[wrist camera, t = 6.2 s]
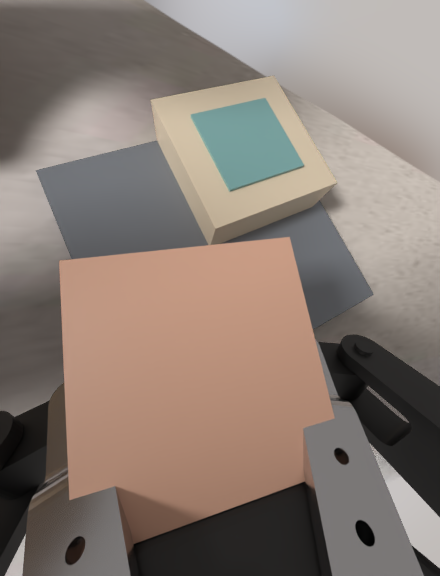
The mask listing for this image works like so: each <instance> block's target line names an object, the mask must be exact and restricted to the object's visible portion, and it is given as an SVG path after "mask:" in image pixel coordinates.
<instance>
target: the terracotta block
mask: <svg viewBox="0 0 440 576" xmlns="http://www.w3.org/2000/svg"><path fill="white" fill-rule="evenodd" d="M59 270H60V294H61V317H62V340H63V363H64V387H65V410H66V433H67V456H68V480H69V500H72V499H75V498H78V497H81V496H85V495H88V494H91V493H94V492H98V491H101V490H104V489H107V488H111V487H114V486H115V487H116V490H117V493H118V496H119V499H120V501H121V504H122V507H123V510H124V513H125V516H126V519H127V521H128V524H129V527H130V530H131V534H132V539H133V544H135V543H138V542H141V541H143V540H146V539H149V538H151V537H154V536H157V535H160V534H162V533H165V532H168V531H171V530H173V529H176V528H179V527H182V526H184V525H187V524H190V523H192V522H195V521H198V520H201V519H203V518H206V517H209V516H212V515H214V514H217V513H220V512H223V511H225V510H228V509H231V508H233V507H236V506H239V505H242V504H244V503H247V502H250V501H253V500H255V499H258V498H261V497H264V496H266V495H269V494H272V493H274V492H277V491H280V490H283V489H285V488H288V487H291V486H294V485H296V484H299V483H302V482H305V477H304V471H303V428H305V427H308V426H312V425H315V424H318V423H321V422H325V421H328V420H331V419H334V418H335V417H334V413H333V409H332V405H331V401H330V397H329V393H328V389H327V385H326V381H325V377H324V373H323V369H322V365H321V361H320V357H319V353H318V349H317V345H316V341H315V337H314V333H313V329H312V325H311V321H310V317H309V313H308V309H307V305H306V301H305V297H304V293H303V289H302V285H301V281H300V277H299V273H298V269H297V265H296V261H295V257H294V253H293V248H292V244H291V240H290V237H284V238H274V239H265V240H255V241H245V242H235V243H226V244H216V245H206V246H197V247H187V248H177V249H167V250H158V251H148V252H138V253H128V254H119V255H109V256H99V257H90V258H80V259H70V260H60V261H59ZM84 549H85V544H84V546H83V549H82V551H81V554H80V557H81V556H82V554H83V552H84Z"/></svg>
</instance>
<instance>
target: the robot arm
mask: <svg viewBox="0 0 440 576" xmlns="http://www.w3.org/2000/svg"><path fill="white" fill-rule="evenodd" d="M315 341H316V345H317V349H318V353H319V357H320V361H321V365H322V369H323V373H324V377H325V381H326V385H327V389H328V393H329V397H330V401H331V405H332V409H333V413H334V417H335V418H334V419H331V420H328V421H325V422H321V423H318V424H315V425H312V426H308V427H305V428H303V471H304V477H305V482H302V483H299V484H296V485H294V486H291V487H288V488H285V489H283V490H280V491H277V492H274V493H272V494H269V495H266V496H264V497H261V498H258V499H255V500H253V501H250V502H247V503H244V504H242V505H239V506H236V507H233V508H231V509H228V510H225V511H223V512H220V513H217V514H214V515H212V516H209V517H206V518H203V519H201V520H198V521H195V522H192V523H190V524H187V525H184V526H182V527H179V528H176V529H173V530H171V531H168V532H165V533H162V534H160V535H157V536H154V537H151V538H149V539H146V540H143V541H141V542H138V543H135V544H133V539H132V534H131V530H130V527H129V524H128V521H127V519H126V516H125V513H124V510H123V507H122V504H121V501H120V499H119V496H118V493H117V490H116V487H115V486H114V487H111V488H107V489H104V490H101V491H98V492H94V493H91V494H88V495H85V496H81V497H78V498H75V499H72V500H69V480H68V456H67V433H66V410H65V387H64V383H63V384H61V385H60V386H59V387H58V388H57V390H56V391H55V392H54V394H53V395H52V397H51V399H50V400H49V401H48V402H46V403H44V404H42V405H39V406H37V407H35V408H33V409H31V410H29V411H27V412H25V413H23V414H21V415H18V416H16V417H14V416H12V415H11V414H10V413H8V412H6V411H0V576H4V575H5V574H6V572H7V570H8V568H9V566H10V564H11V562H12V560H13V558H14V556H15V554H16V552H17V550H18V548H19V546H20V544H21V542H22V540H23V538H24V536H25V534H26V540H25V552H24V564H23V576H440V568H438V567H437V566H436V565H435V564H434V563H432V562H431V561H430V560H428V559H427V558H426V557H425V556H424V555H423V554H421V553H420V552H419V551H418V550H417V549H415V548H414V547H413V546H412V545H411V543H410V541H409V538H408V536H407V534H406V531H405V529H404V526H403V524H402V521H401V519H400V517H399V514H398V512H397V510H396V507H395V505H394V502H393V500H392V497H391V495H390V493H389V490H388V488H387V485H386V483H385V480H384V478H383V476H382V473H381V471H380V468H379V466H378V464H377V461H376V459H375V456H374V454H373V451H372V449H371V447H370V444H371V445H372V446H373V447H374V448H375V449H376V450H377V451H378V452H379V453H380V454H381V455H382V456H383V457H384V458H385V459H386V461H387V462H388V463H389V464H390V465H391V466H392V467H393V468H394V469H395V470H396V471H397V472H398V473H399V474H400V475H401V476H402V477H403V479H404V480H405V481H406V482H407V483H408V484H409V485H410V486H411V487H412V488H413V489H414V490H415V491H416V492H417V493H418V494H419V496H420V497H421V498H422V499H423V500H424V501H425V502H426V503H427V504H428V505H429V506H430V507H431V508H432V509H433V510H434V511H435V512H436V513H437V515H438V516H439V517H440V386H438V385H437V384H435V383H434V382H432V381H431V380H429V379H428V378H426V377H425V376H423V375H422V374H421V373H419V372H418V371H416V370H415V369H413V368H412V367H410V366H409V365H407V364H406V363H404V362H403V361H402V360H400V359H399V358H397V357H396V356H394V355H393V354H391V353H390V352H388V351H387V350H385V349H384V348H382V347H381V346H380V345H378V344H377V343H375V342H374V341H372V340H370V339H368V338H366V337H363V336H360V335H347V336H345V337H344V338H343V339H342V341H341V343H340V344H336V343H323V342H317V340H316V339H315ZM368 385H369V386H370V387H371V388H372V389H373V390H374V391H376V392H377V393H378V394H379V395H380V396H381V397H383V398H384V399H385V400H386V401H387V402H388V403H390V404H391V405H392V406H393V407H394V408H395V409H397V410H398V411H399V412H400V413H401V414H402V415H403V416H405V418H406V419H407V420H408V421H409V423H407V422H405V421H403V420H402V419H401V418H399V417H398V416H397V415H396V414H395V413H394V412H392V411H391V410H390V409H389V408H388V407H387V406H386V405H384V404H383V403H382V402H381V401H380V400H379V399H378V398H376V397H375V396H374V395H373V394H372V393H371V392H370V391H368V390H367V389H366V387H367V386H368ZM368 441H369V442H370V444H369V442H368ZM84 544H85V549H84V552H83V554H82V556H81V557H80V554H81V551H82V549H83V546H84Z"/></svg>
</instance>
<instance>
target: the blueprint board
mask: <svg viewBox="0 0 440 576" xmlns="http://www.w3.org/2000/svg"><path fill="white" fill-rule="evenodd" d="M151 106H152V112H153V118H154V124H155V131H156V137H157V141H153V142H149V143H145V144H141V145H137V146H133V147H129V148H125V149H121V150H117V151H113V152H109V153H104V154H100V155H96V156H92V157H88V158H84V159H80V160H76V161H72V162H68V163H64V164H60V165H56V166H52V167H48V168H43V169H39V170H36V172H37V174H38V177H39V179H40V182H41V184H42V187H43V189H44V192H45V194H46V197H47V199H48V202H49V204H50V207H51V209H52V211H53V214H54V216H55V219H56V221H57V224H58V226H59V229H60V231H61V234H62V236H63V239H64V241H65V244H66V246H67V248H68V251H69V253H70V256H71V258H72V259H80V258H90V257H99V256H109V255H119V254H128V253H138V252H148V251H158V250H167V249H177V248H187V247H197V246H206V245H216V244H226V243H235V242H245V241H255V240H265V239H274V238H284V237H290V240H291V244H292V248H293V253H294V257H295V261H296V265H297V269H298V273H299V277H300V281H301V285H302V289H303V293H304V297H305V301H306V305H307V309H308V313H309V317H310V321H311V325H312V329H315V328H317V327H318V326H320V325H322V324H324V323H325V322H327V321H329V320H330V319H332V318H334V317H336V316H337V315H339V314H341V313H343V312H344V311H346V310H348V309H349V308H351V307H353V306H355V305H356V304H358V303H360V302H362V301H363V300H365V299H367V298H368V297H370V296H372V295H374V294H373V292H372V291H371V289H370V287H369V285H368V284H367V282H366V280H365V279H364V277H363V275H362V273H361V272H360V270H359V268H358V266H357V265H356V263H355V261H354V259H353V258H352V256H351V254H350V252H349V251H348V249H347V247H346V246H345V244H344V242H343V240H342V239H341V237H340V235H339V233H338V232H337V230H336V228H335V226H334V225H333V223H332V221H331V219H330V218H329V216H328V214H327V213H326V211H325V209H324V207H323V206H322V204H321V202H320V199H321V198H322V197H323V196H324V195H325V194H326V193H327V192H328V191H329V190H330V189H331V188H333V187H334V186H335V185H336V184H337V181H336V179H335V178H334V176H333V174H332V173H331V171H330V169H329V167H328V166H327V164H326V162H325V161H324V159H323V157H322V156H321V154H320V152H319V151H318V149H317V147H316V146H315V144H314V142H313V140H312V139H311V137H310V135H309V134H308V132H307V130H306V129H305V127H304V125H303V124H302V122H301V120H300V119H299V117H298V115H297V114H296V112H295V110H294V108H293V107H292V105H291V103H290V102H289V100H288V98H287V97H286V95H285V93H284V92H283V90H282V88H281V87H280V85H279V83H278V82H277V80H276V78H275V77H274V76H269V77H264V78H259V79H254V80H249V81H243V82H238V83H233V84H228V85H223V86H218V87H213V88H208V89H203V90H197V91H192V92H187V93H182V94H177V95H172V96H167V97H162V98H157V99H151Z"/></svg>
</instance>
